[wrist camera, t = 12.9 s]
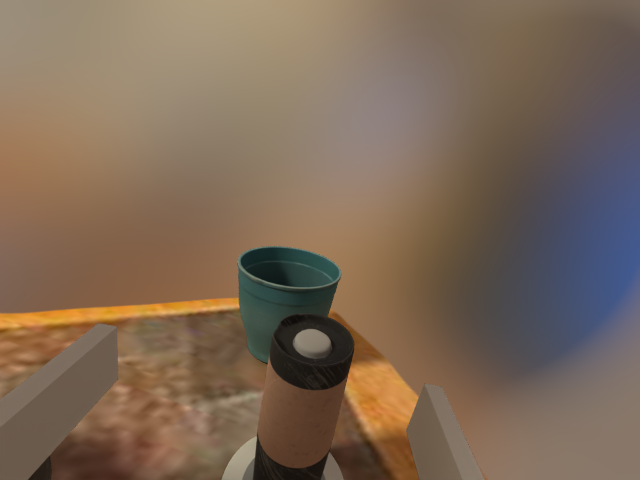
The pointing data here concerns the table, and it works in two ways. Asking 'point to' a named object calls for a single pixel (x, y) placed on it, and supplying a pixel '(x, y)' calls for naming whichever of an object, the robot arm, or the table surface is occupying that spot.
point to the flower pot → (281, 290)
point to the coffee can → (43, 471)
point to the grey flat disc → (242, 463)
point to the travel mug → (301, 397)
